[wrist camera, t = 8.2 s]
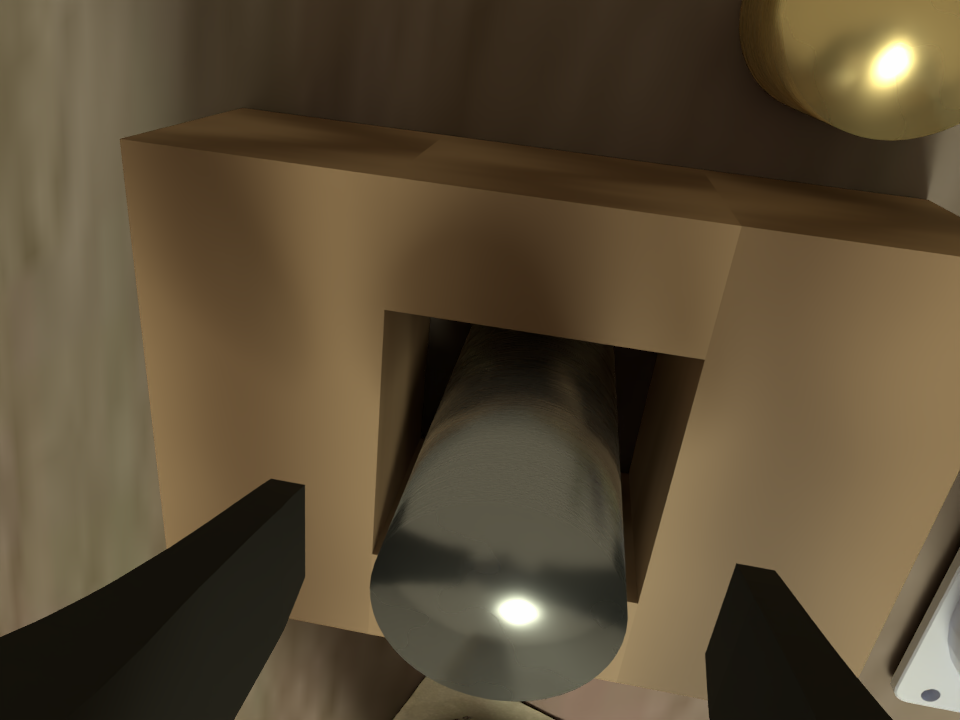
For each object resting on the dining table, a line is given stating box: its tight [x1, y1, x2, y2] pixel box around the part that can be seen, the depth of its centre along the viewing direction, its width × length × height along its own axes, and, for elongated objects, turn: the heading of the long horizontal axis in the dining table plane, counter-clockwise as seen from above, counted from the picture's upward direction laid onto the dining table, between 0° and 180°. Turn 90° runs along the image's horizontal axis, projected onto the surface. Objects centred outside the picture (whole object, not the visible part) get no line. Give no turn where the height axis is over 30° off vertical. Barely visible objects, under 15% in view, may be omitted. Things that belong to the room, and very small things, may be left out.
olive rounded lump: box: [739, 0, 960, 141], centre depth 13 cm, size 4×4×4 cm
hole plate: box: [120, 108, 960, 700], centre depth 17 cm, size 16×11×5 cm
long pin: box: [370, 324, 628, 702], centre depth 15 cm, size 4×4×9 cm
